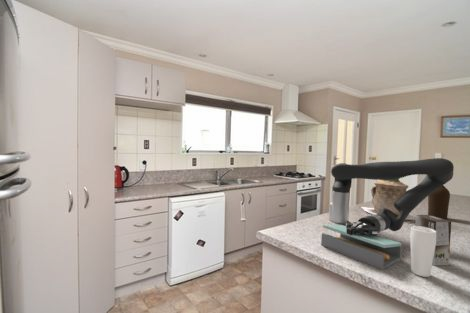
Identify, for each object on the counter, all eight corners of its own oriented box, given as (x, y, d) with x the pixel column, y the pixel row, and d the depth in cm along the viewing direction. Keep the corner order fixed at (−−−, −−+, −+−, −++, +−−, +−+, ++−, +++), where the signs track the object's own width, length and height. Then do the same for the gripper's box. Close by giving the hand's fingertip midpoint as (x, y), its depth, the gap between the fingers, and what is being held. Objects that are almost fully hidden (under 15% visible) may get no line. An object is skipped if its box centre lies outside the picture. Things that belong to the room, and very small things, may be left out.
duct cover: (323, 227, 101) (323, 225, 101) (341, 227, 109) (341, 225, 109) (384, 248, 81) (384, 245, 81) (401, 245, 89) (401, 243, 89)
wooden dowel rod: (334, 241, 103) (334, 236, 103) (337, 240, 104) (337, 235, 104) (387, 261, 85) (388, 255, 85) (390, 259, 87) (390, 254, 87)
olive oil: (439, 220, 146) (442, 179, 145) (422, 215, 156) (424, 177, 156) (453, 219, 148) (455, 179, 148) (435, 214, 159) (437, 177, 158)
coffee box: (450, 265, 86) (453, 221, 85) (433, 265, 85) (436, 221, 85) (427, 254, 95) (430, 214, 94) (412, 254, 94) (415, 214, 94)
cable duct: (321, 244, 101) (321, 233, 101) (341, 238, 109) (342, 227, 109) (382, 269, 81) (382, 255, 81) (401, 259, 89) (401, 246, 89)
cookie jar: (421, 221, 142) (425, 168, 141) (380, 219, 143) (383, 166, 142) (394, 210, 167) (397, 165, 166) (359, 209, 167) (361, 163, 166)
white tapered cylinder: (435, 281, 75) (438, 234, 74) (409, 274, 78) (411, 229, 78) (431, 272, 81) (434, 228, 80) (407, 266, 84) (409, 224, 84)
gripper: (356, 212, 105) (333, 217, 95) (389, 220, 94) (367, 227, 84) (355, 229, 105) (332, 236, 96) (388, 238, 95) (366, 247, 85)
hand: (348, 231), depth 90 cm, fingers closed
